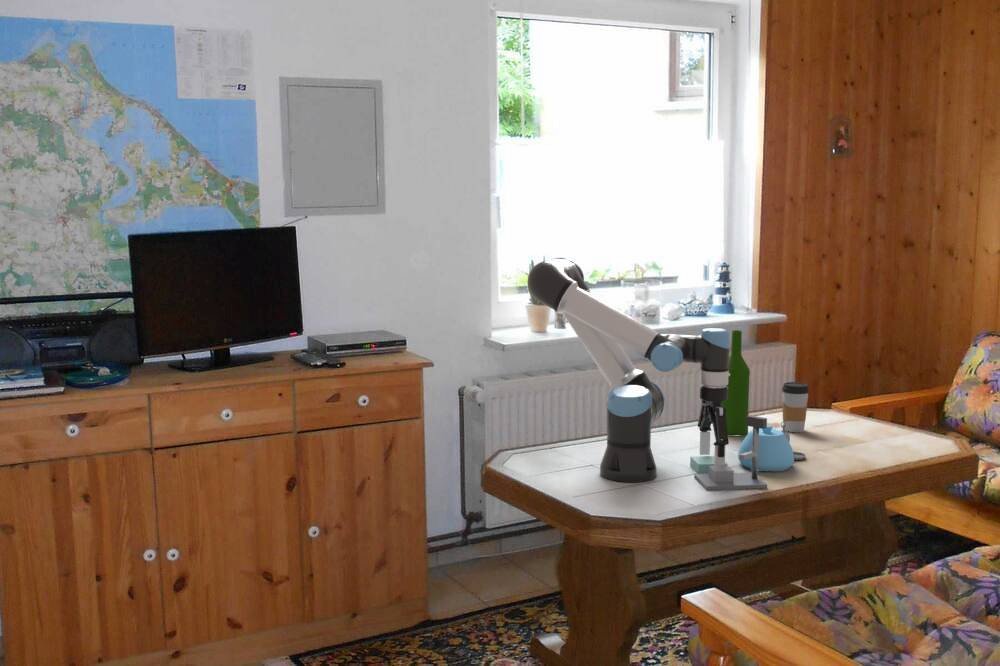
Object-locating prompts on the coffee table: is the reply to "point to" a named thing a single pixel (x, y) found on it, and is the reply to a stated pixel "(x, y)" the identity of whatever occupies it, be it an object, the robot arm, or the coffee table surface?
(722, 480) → the grey base plate
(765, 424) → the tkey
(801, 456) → the pocket watch
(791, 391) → the coffee cup
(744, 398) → the wine bottle
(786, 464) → the sugar bowl
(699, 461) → the lid
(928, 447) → the coffee table surface
